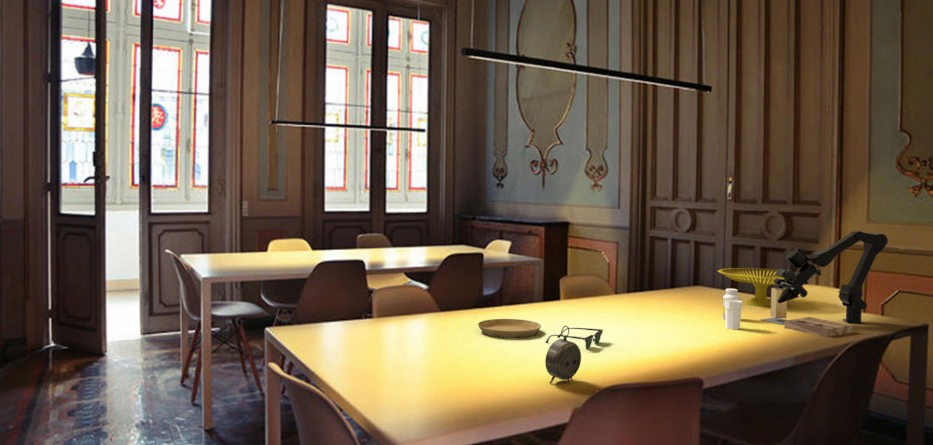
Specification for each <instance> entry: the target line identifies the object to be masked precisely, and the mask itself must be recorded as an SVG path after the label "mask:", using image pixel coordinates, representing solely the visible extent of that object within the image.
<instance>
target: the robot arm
mask: <svg viewBox="0 0 933 445" xmlns="http://www.w3.org/2000/svg"><path fill="white" fill-rule="evenodd" d="M858 242H862V243H863V252H862V255H861V257H860V259H859V260H858V263H857V266H856V268H855V270H854V271H853V274H852V277H851V278H850V281H849V282H847V283H846V284H845V283H842V284H841V287H840V289H839V291H838V299H839V300H840V302H842V303H841V304H842V306H843V307H845V308H846V309H845V318H842V321H843V322H845V323H846V324H865V321H863V320H862V314H863V313H862V312H863V310H866V308H867V306H868V304H867V303H866V302H865V301H864V300H863V298H862V297H863V285H864V283H865V281H866V279H867V276H868V274H869V272H870V270H871V268H872V266H873V264H874V262H875V260H876V258H877V255H879V254H880V253H881V252H882V251H884V249H885V248H886V246H887V245H888V242H889V239H888V237H887V235H886V234H884V233H878V232H870V233H868V232H863V231H861V230H852V231H851V232H850V233H849V234H847V235H845V236H844V237H841V239H839V240H838V241H836V242H834V243H832V244H831V245H829V246H828V247H826V248H822V249H818V250H816V251H814V252H812V253H811V254H809V255H806V254H805V253H804V252H803V250H802V248H800V247H796V248H795V249H793V250H790V251H789V252H787V253H786V254H785V257H784V258H785V260H786V261H788V262H789V263H790V265H792V267H794V268H795V269H797V268H798V270H796V271H794V270H792V269H789V268H788V269H787V270H786V269H784V268H778V269H777V270H778V271H777V272H776V274H775V276H776V275H777V277H778V276H780V277H782V278H785V279H784V280H785V281H786V282H787V283H786V282H785V281H784V280H783V279H780V278H776V279H775V280H774V283H775V284H776V285H775V284H774V285H775V286H776V288H783V289H786V292H785V293H784V294H783V295H782V296H781V298H780V299H779V300H778V303H782V302H785V301H787V302H788V301H791V300H795V299H797V298H803V299H804V298H806V297H807V296H808V290H807V289H805V287H804V285H806V286H807V285H808V284H809V282H808V281H809V280H810V279H812V277H814V275H816V276H819V277H820V276H822V269H821V268H825V267H827V266H828V265H830V264H831V263H832V262H833V261H834V259H835V258H836V257H837V256H838V255H839V254H841V253H843V252H844V251H846V250H847V249H848V248H849V249H850V247H852V246H854V245H856V244H857V243H858ZM809 262H810V263H809ZM816 266H817V267H820V268H817V267H816Z"/></svg>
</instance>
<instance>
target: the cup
mask: <svg viewBox="0 0 933 445" xmlns="http://www.w3.org/2000/svg"><path fill="white" fill-rule="evenodd" d="M742 309H743V300H741V299H740V300H725V319H724V320H725V328H726V329H727V328H728V329H727V330H733V329H738V330H740V329H741V318H742Z"/></svg>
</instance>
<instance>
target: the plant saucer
mask: <svg viewBox="0 0 933 445" xmlns="http://www.w3.org/2000/svg"><path fill="white" fill-rule="evenodd" d="M477 326H478V329H480V331H482V332H483V333H484V334H486V335H488V336H491V337H497V338H509V339H510V338H511V339H513V338H515V339H518V338H526V337H531V336H533V335H536V334H537V333H538V332H539V331H540V330H541V328H542V324H541V323H538V322H536V321H532V320H527V319H526V320H525V319H519V318H518V319H517V318H492V319H485V320H481V321H479V322H478V323H477Z"/></svg>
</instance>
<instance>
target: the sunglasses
mask: <svg viewBox="0 0 933 445" xmlns="http://www.w3.org/2000/svg"><path fill="white" fill-rule="evenodd" d="M568 328H569V330H584V331H596V332H595V333H594V334H589V335H588V336H585V337H583V336H572V335H568V336H567V335H566V336H567V338H570V339H577V340H584V343H585V349H586V350H588V349H590V348H591V345H592V342H594V345H597V344H599V343H600V340H601V336H602V335H603V330H604V329H602V328H601V329H600V328H588V327H587V328H585V327H568ZM568 328H567V327H566V328H564V329H563V331H562V334H563V336H564V332H565V331H566V330H567V331H568ZM562 334H561V333H559V334H552V335H549V336H548V337H547V339H546V340H545V343H546V344H549V341H550V338H551V337H556V338H559V339H561V337H562V338H564V337H563V336H562Z"/></svg>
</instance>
